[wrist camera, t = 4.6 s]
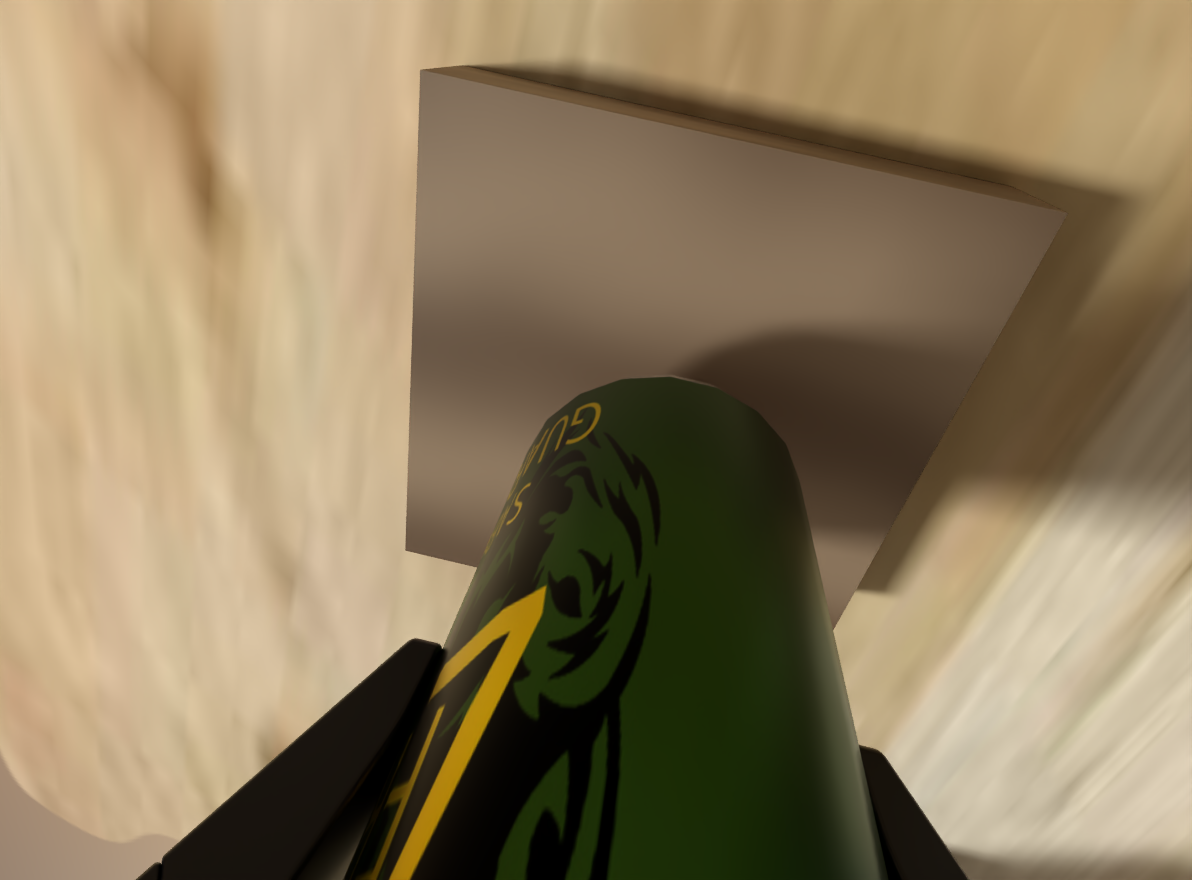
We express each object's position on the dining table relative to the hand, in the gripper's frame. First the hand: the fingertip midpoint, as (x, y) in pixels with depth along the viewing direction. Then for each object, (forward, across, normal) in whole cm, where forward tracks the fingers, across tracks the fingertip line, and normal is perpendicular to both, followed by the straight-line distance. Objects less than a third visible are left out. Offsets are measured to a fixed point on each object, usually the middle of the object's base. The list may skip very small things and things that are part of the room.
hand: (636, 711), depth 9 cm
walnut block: (+10, 0, 0) cm, 10 cm away
